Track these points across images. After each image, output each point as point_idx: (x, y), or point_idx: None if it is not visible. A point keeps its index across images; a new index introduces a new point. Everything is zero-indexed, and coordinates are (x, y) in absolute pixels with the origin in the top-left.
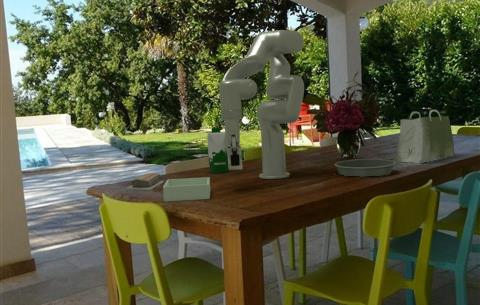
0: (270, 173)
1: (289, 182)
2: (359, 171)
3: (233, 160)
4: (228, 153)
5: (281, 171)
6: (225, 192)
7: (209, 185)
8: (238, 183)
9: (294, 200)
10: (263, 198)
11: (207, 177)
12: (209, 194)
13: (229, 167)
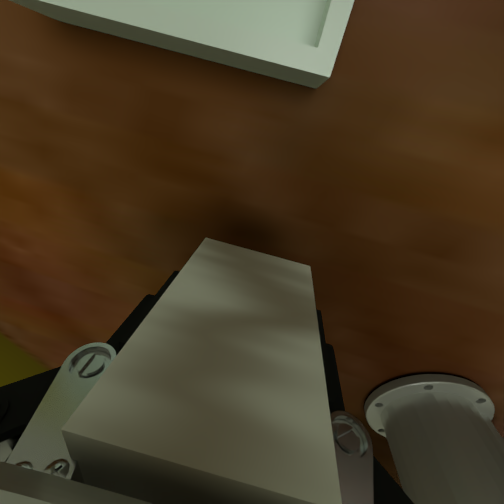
0: (402, 408)
1: None
2: None
3: (134, 313)
4: (127, 351)
5: (386, 434)
6: (214, 161)
7: (167, 41)
8: (406, 280)
9: (17, 311)
10: (51, 257)
11: (328, 51)
12: (70, 21)
13: (197, 252)
